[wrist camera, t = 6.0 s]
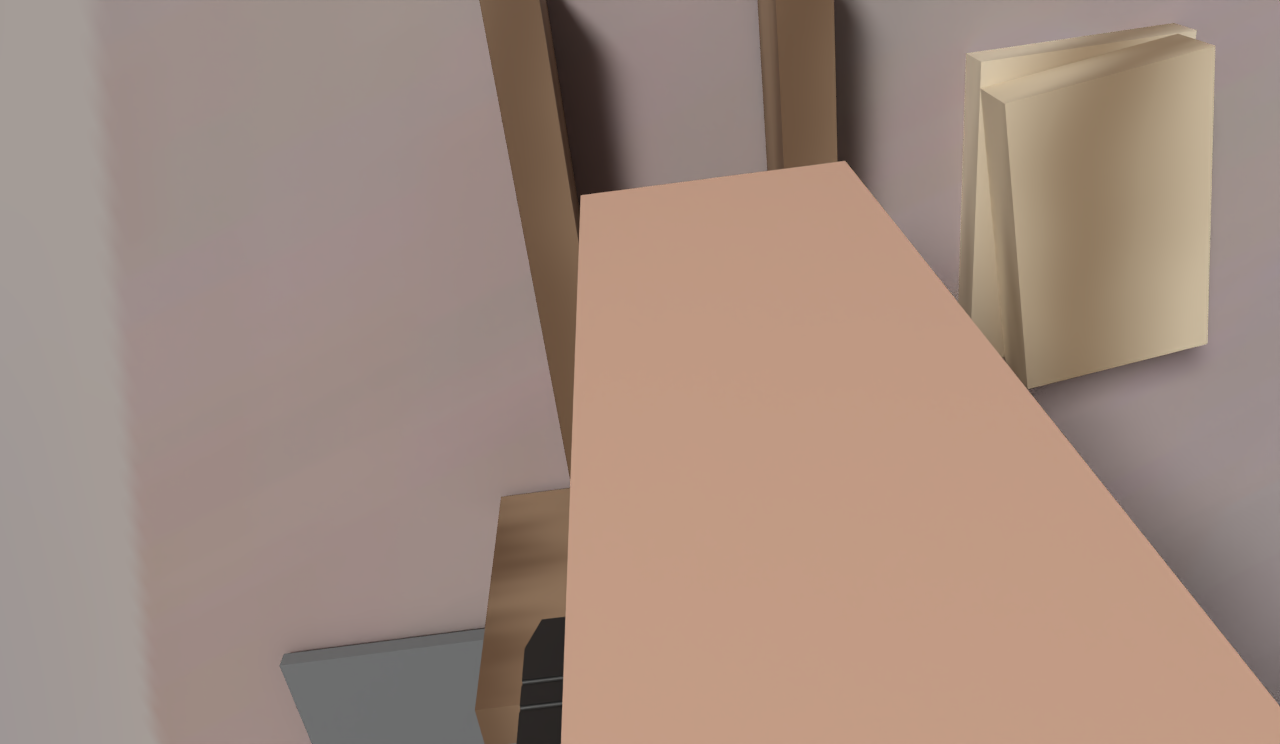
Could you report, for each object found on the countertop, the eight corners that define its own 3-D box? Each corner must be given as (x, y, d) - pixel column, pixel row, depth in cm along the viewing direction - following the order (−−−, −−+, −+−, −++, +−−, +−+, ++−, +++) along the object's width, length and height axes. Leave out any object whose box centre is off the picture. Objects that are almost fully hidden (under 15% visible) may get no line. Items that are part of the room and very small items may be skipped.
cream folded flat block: (1162, 19, 24) (1196, 30, 22) (1125, 312, 28) (1153, 336, 26) (958, 49, 24) (980, 62, 22) (951, 337, 28) (969, 362, 26)
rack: (914, -76, 22) (1071, -35, 15) (905, 478, 29) (1007, 681, 22) (384, -4, 22) (290, 71, 15) (508, 528, 29) (485, 746, 22)
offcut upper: (1178, 33, 22) (1215, 45, 21) (1175, 318, 26) (1207, 343, 25) (980, 88, 23) (1004, 103, 21) (1005, 361, 26) (1027, 389, 25)
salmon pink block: (844, 161, 15) (1508, 995, 4) (854, 650, 19) (1167, 1615, 9) (580, 195, 15) (547, 1099, 4) (655, 673, 19) (728, 1658, 9)
